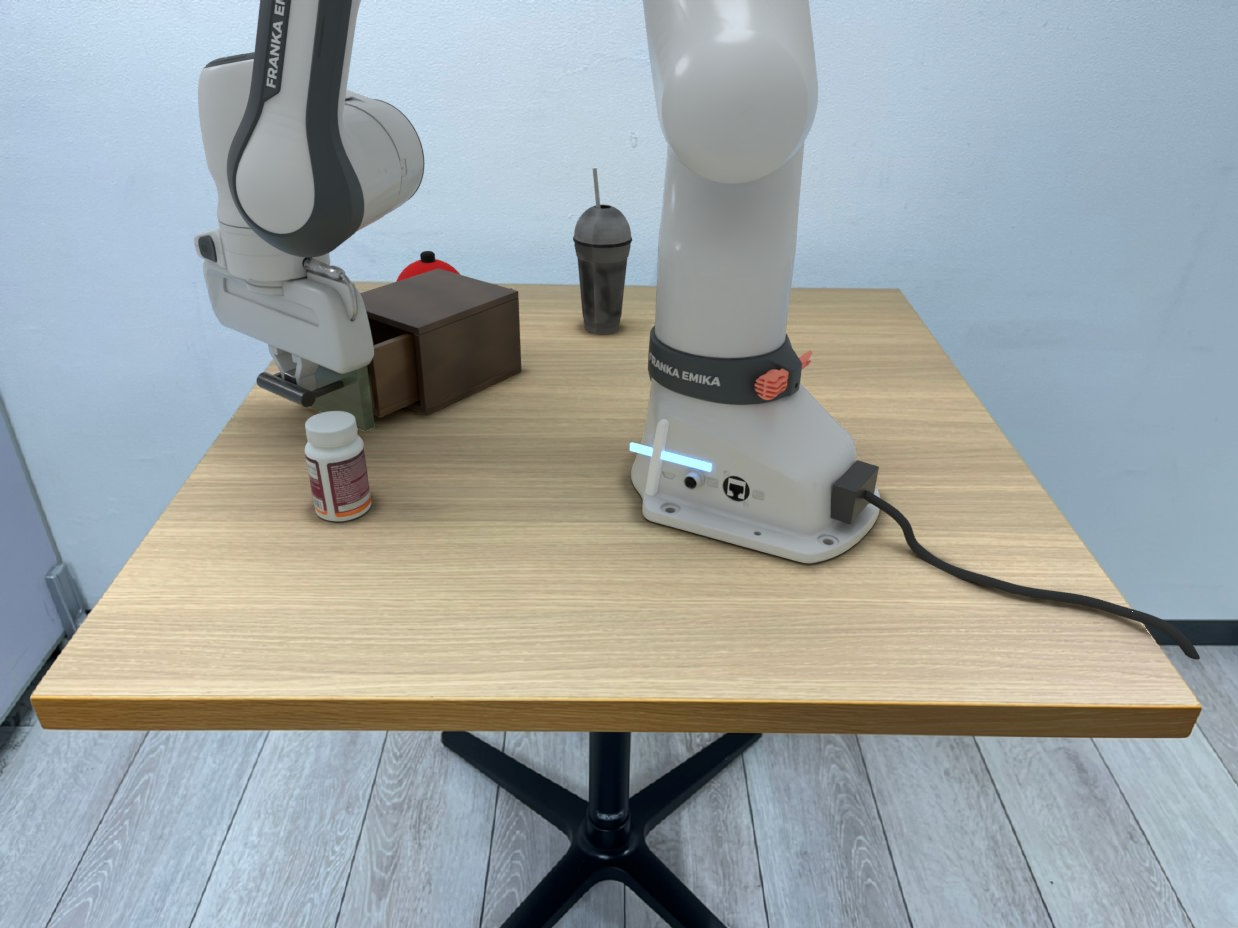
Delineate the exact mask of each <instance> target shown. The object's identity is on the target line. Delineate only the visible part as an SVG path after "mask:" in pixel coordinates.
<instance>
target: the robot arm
mask: <svg viewBox="0 0 1238 928" xmlns="http://www.w3.org/2000/svg"><path fill="white" fill-rule="evenodd" d="M361 2H362V0H259V8H258V16H257V26H256V34H255V44H254V51H252V52H245V53H239V54H234V55H227V56H222V57H219V58H216V59H213V60H211V61H209V62H208V63H207V64H206V65H205V66H204V67H203V68H202V69H201V71H200V73H199V78H198V84H197V85H198V87H197V107H198V117H199V126H200V127H199V128H200V133H201V139H202V143H203V151H204V155H205V161H206V165H207V170H208V171H209V173H210V175H211V177H212V179H213V181H214V184H215V188H216V192H217V209H216V218H217V223H218V227H219V228H214V229H211V230H207V231H204V232H200V233H197V234H195V235H194V236H193V244H194V249H195V252H196V254H197V256H198V257H199V258H201V259H202V260H203V263H202V272H203V278H204V282H205V286H206V291H207V295H208V299H209V303H210V306H211V309H212V312H213V314H214V316H215V317H216V319H217V321H218V322H219V323H220V325H221V326H223V327H226V328H227V329H230V330H233V331H235V332H238V333H240V334H243V335H246V336H248V337H250V338H252V339H254V340H256V341H260V342H262V343H265V344H266V345H267V346H268V352H269V354H270V356H271V358H272V359H273V361H274V363H275V365H276V367H277V368H278V371H280V372H281V376H282V379H284V380H286V381H288V382H291V383H293V384H296V385H298V386H300V387H303V388H305V389H307V390H310V391H313V390H315V389H316V387H317V385H316V379H315V373H316V370H317V368H318V365H321V366H323V367H325V368H328V369H330V370H333V371H335V372H338V373H341V374H345V373H348V372H351V371H354V370H357V369H360V368H362V367H364V366H366V365H368V364H370V362H371V360H372V358H373V356H374V346H373V340H372V335H371V330H370V325H369V321H368V316H367V312H366V308H365V305H364V302H363V299H362V296H361V294H360V293H361V292H360V291H359V289H358V288H357V286H356V284H355V283H354V282H352V281H351V279H350V278H349V277H348V275H346V271H345V270H344V269H343V268H342V267H340V266H337V265H331V256H330V254H331V253H332V252H333V251H334V250H336V249H337V248H338V247H339V246H341V245H342V244H344V243H345V242H346V241H348V240H349V239H350V238H351V237H353V236H354V235H355V234H356V233H357V232H359V231H361V230H363V229H364V228H366V227H368V226H370V225H371V224H373V223H375V222H378V221H379V220H381V219H382V218H384V217H385V216H386V215H389V214H390V213H392V212H394V211H395V210H397V209H398V208H400V207H401V206H403V205H404V204H405V203H406V202H408V201H409V200H410V199H411V198H413V197H414V196H415V194H416V193H417V192H418V191H419V189H420V187H421V184H422V182H423V178H424V174H425V154H424V148H423V143H422V141H421V138H420V136H419V134H418V132H417V130H416V128H415V126H414V125H413V124H412V122H411V121H410V119H408V117H407V116H406V115H405V114H404V113H403V112H402V111H401V110H400V109H399V108H398V107H396V106H394V105H393V104H390V103H389V102H387V101H384V100H382V99H376V98H371V97H368V96H365V95H364V94H363V95H362V94H360V93H357V92H354V91H351V90H348V89H347V88H348V81H349V74H350V69H351V61H352V54H353V46H354V40H355V34H356V26H357V18H358V13H359V9H360V6H361ZM642 6H643V16H644V23H645V24H644V25H645V31H646V39H647V48H648V57H649V64H650V70H651V71H650V72H651V78H652V85H653V93H654V99H655V106H656V114H657V118H658V122H659V127H660V130H661V133H662V135H663V137H664V140H665V142H666V144H667V145H666V146H667V147H666V158H665V159H666V160H665V172H664V181H663V194H662V205H661V213H660V222H659V231H658V241H657V242H658V243H657V265H656V291H655V295H656V296H655V315H654V317H655V318H654V325H653V326H652V327H651V329H650V331H649V340H648V341H649V342H648V352H647V353H648V357H647V371H648V376H649V381H650V389H649V397H648V405H647V411H646V417H645V422H644V426H643V431H642V435H641V440H640V443H636V442H632V441H631V442H630V443H629V451H630V452H633V453H636V456H635V458H634V461H633V464H632V465H631V471H630V479H631V483H632V484H633V486H634V488H635V490H636V491H637V492H638V494H639V495H640V497H641V499H642V505H641V512H642V516H643V517H644V518H645V519H646V520H648V521H649V522H652V523H655V524H660V525H663V526H667V527H670V528H674V529H678V530H682V531H685V532H689V533H693V534H696V535H700V536H703V537H707V538H711V539H714V540H718V541H720V542H721V541H722V542H725V543H728V544H733V545H736V546H738V547H739V546H740V547H743V548H747V549H750V550H754V551H758V552H762V553H766V554H769V555H773V556H776V557H780V558H783V559H787V560H790V561H794V562H799V563H803V564H816V563H820V562H824V561H828V560H830V559H833V558H836V557H837V556H839V555H842V554H843V553H846V552H847V551H848V550H850V549H851V548H853V547H854V546H855V545H856V544H858V543H859V542H860V541H861V540H862V539H863V538H864V537H866V535H867V534H868V533H869V532H870V530H871V529H872V528H873V527H874V525H875V524H876V522H877V520H878V517H879V515H880V511H882V512H884V514H887V515H888V516H889V517H890V518H891V519H892V520H893V521H895V522H896V524H897V525H898V526H899V527H900V528H901V531H902V533H903V536H904V539H905V542H906V544H907V546H908V547H909V548H910V550H911V551H912V552H913V553H915V554H916V555H917V556H918V557H919V558H920V559H922V560H923V561H924V562H925V563H926V562H927V563H928V564H929V565H931V566H933V567H936V568H937V569H939V570H941V571H944V572H945V573H947V574H949V575H951V576H954V577H956V578H958V579H962V580H965V581H967V582H972V583H974V584H978V585H981V586H985V587H988V588H992V589H995V590H999V591H1000V592H1004V593H1009V594H1012V595H1016V596H1019V597H1025V598H1031V599H1036V600H1043V601H1049V602H1050V601H1051V602H1059V603H1065V604H1066V603H1067V604H1073V605H1079V606H1083V607H1087V608H1091V609H1096V610H1099V611H1102V612H1106V613H1109V614H1112V615H1115V616H1117V617H1121V618H1125V619H1129V620H1131V621H1135V622H1139V623H1142V624H1144V625H1147V626H1150V627H1152V628H1154V629H1156V630H1158V631H1160V632H1162V633H1163V634H1165V635H1166V636H1167V637H1169V638H1170V639H1171V640H1172V641H1173V642H1174V643H1175V644H1177V646H1178V648H1180V650H1181V651H1182V652H1183V653H1184V655H1185V656H1186V657H1188V658H1190V659H1192V660H1195V661H1196V660H1197V661H1198V660H1201V657H1200V654H1199V652H1198V651H1197V649H1196V647H1195V646H1194V645H1193V643H1192V642H1191V640H1189V639H1188V637H1187V636H1186V635H1185V634H1184V633H1182V631H1180V629H1178V628H1177V627H1176V626H1174V625H1173V624H1171V623H1170V622H1168V621H1166V620H1164V619H1163V618H1160V617H1158V616H1155V615H1153V614H1150V613H1148V612H1144V611H1140V610H1136V609H1134V608H1130V607H1127V606H1123V605H1120V604H1116V603H1113V602H1110V601H1107V600H1105V599H1104V600H1103V599H1101V598H1098V597H1097V598H1096V597H1092V596H1088V595H1083V594H1078V593H1072V592H1067V591H1059V590H1051V589H1043V588H1036V587H1030V586H1025V585H1020V584H1015V583H1012V582H1008V581H1005V580H1001V579H998V578H995V577H991V576H988V575H985V574H982V573H977V572H974V571H971V570H967V569H964V568H961V567H958V566H955V565H954V564H950V563H949V562H947V561H944V560H943V559H940V558H939V557H937V556H936V555H935V554H933V553H931V552H930V551H929V550H927V549H926V548H925V547H924V546H922V544H920V543H919V542H918V540H917V538H916V536H915V533H914V530H913V527H912V525H911V523H910V521H909V520H908V518H907V517H906V516H905V515H904V514H903V513H902V512H900V510H899V509H897V508H896V507H895V506H894V505H892V504H891V503H889V502H888V501H886V500H884V499H882V498H881V494H880V491H879V489H878V487H877V480H878V474H879V470H880V467H879V466H878V465H876V464H873V463H869V462H865V461H862V460H859V457H858V451H857V450H858V449H857V445H856V442H855V440H854V438H853V436H852V434H851V433H850V432H849V431H847V429H846V428H845V427H843V425H842V424H840V422H838V420H836V419H835V417H834V416H833V415H831V413H830V412H829V411H828V410H827V409H826V408H825V407H824V406H823V405H822V403H820V402H819V401H818V399H817V398H815V397H814V396H813V394H812V393H811V392H810V391H809V390H808V389H807V388H806V387H805V386H804V385H803V384H802V382H801V380H802V371H803V370H804V369H805V368H807V367H808V366H809V365H810V364H811V363H812V360H810V359H811V357H812V355H813V351H812V350H808V351H806V352H805V353H803V354H802V355H800V356H798V355H797V352H795V350H794V348H793V345H792V343H791V339H790V338H789V335H788V334H787V327H788V319H789V309H790V301H791V294H792V286H793V285H792V284H793V276H794V269H795V268H794V267H795V260H796V250H797V240H798V225H799V223H798V222H799V212H800V199H801V185H802V174H803V163H804V154H805V153H804V152H805V142H806V140H807V138H808V136H809V134H810V132H811V129H812V127H813V124H814V121H815V118H816V115H817V109H818V103H819V82H818V81H819V80H818V72H817V62H816V53H815V43H814V36H813V34H814V33H813V27H812V26H813V25H812V19H811V9H810V1H809V0H642ZM1132 611H1133V612H1132Z"/></svg>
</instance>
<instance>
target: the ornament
mask: <svg viewBox="0 0 1238 928" xmlns="http://www.w3.org/2000/svg"><path fill="white" fill-rule="evenodd" d="M419 256H420V257H419V258H420V259H418V260H415V261H413V262H411V263H410V264H408V265H407V266H406V267H405V268H403V269H402V271H400V273H399V275H398V276H397V279H396V280H395V282H397V281H400V280H403V279H407V278H410V277H413V276H416V275H419V274H422V273H426V272H429V271H432V270H435V269H442V270H445V271H449V272H453V273H456V274H460V275H461V273H460V272H459V271H458V270H457V269H456V268H455V266H453V265H451V264H450V263H449V262H446V261H444V260H441V259H438V258H436V254H435V252H434V251H432V250H423V251H421V253H420V254H419Z"/></svg>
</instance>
